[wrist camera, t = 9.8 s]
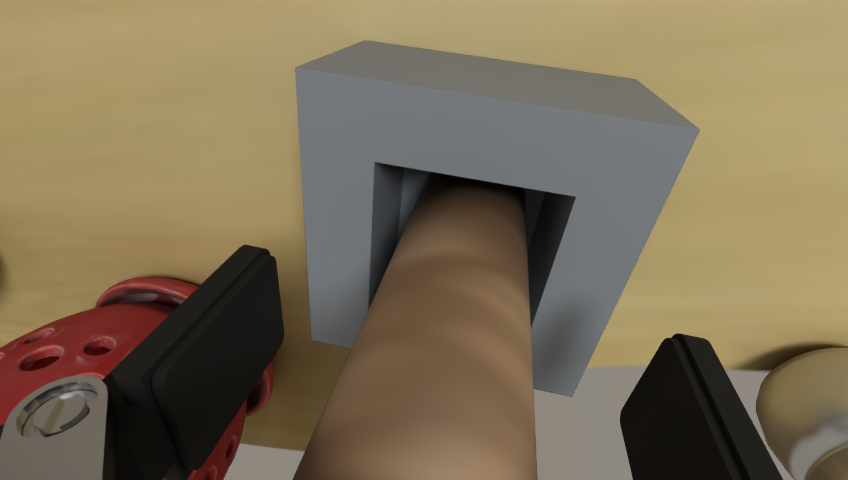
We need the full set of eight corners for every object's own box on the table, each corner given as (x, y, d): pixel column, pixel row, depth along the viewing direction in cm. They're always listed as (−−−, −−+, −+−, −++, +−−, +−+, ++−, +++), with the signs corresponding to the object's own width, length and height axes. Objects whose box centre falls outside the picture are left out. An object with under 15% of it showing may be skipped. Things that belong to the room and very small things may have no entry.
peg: (536, 159, 15) (603, 733, 4) (512, 248, 17) (506, 785, 6) (430, 141, 16) (182, 607, 4) (419, 230, 18) (238, 699, 6)
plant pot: (219, 231, 22) (-27, 440, 12) (322, 395, 28) (216, 625, 18) (57, 269, 26) (-226, 449, 16) (178, 405, 32) (26, 597, 22)
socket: (636, 79, 15) (700, 129, 10) (557, 293, 20) (571, 397, 15) (364, 40, 16) (294, 67, 11) (359, 255, 21) (311, 340, 16)
